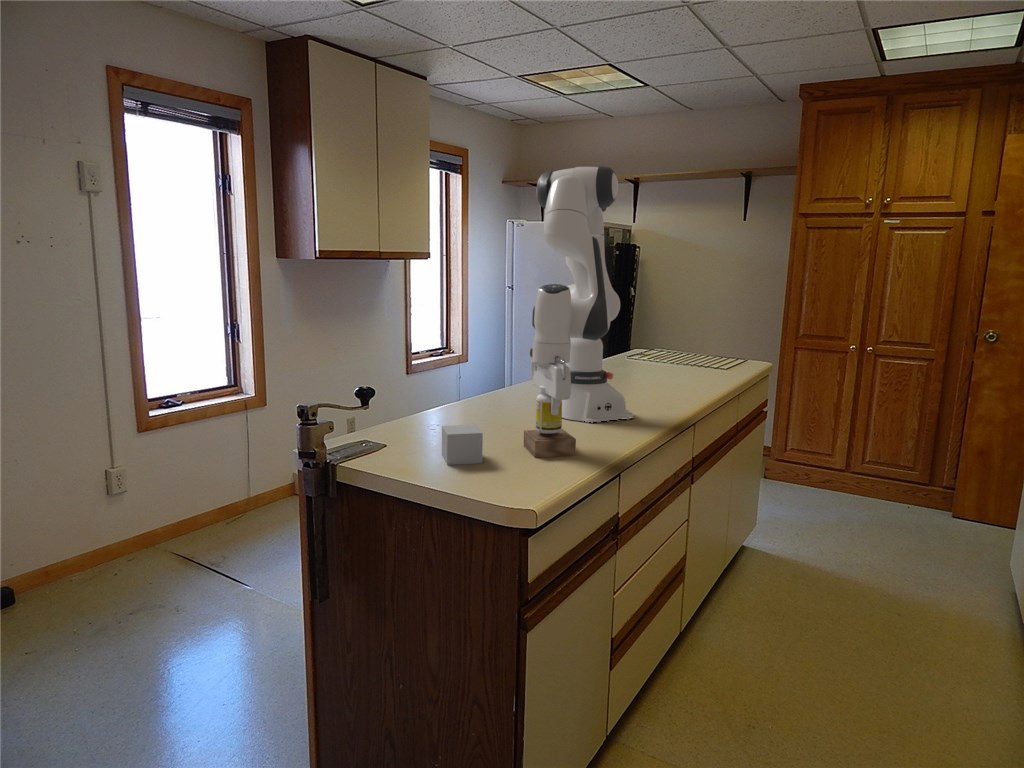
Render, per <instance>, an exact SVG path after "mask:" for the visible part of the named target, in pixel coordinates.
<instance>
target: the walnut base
mask: <svg viewBox="0 0 1024 768" xmlns="http://www.w3.org/2000/svg"><path fill="white" fill-rule="evenodd" d="M576 443H577V439H576V438H575V437H574V436H573V435H571V434H570V433H568V432H567V431H566V430H565V429H564V428H561V431H560V432H558V433H552V434H546V433H540V432H538V431H537V430H536V429H529V430H528V429H526V430H525V429H524V430H523V448H525V449H526V450H527V451H528V453H530V455H532V457H534V458H551V457H570V456H572V455H573V456H576V449H577V448H576V446H577V444H576Z"/></svg>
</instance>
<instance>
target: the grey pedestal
mask: <svg viewBox="0 0 1024 768" xmlns="http://www.w3.org/2000/svg"><path fill="white" fill-rule="evenodd" d="M483 435H484V433H483V431H482V430H481V429H480V428H479V427H478V426H477V424H462V425H461V424H460V425H459V424H458V425H442V426H441V456H442V458H443V460H444V462H445V464H446V466H451V465H456V466H457V465H470V464H471V465H473V464H483V443H484V442H483V437H484V436H483Z"/></svg>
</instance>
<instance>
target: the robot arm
mask: <svg viewBox="0 0 1024 768" xmlns="http://www.w3.org/2000/svg"><path fill="white" fill-rule="evenodd" d="M618 193H619V181H618V177H617V175H616V171H615V170H614V169H613V168H612V167H611V166H610V167H609V166H604V165H599V166H575V167H573V168H565V169H559V170H555V171H554V170H549V171H546V172H544V173H542V174H541V175H540V176H539V177H538V179H537V184H536V197H537V201H538V203H539V205H540V206H541V207H542V208H543V209H544V216H543V217H544V218H543V236H544V239H545V241H546V243H547V245H548V246H549V247H550V248H551V249H553V250H554V251H555V252H557V253H558V254H560V255H562V256H564V257H565V264H566V266H567V268H568V269H569V270H570V272H571V275H572V278H573V281H574V282H573V284H568V285H565V284H560V283H558V284H557V283H548V284H543V285H542V286H540V287H538V289H537V293H536V299H535V305H534V306H533V308H532V318H531V319H532V321H531V322H532V323H531V324H532V327H533V328H534V329H535V331H534V332H535V333H534V336H533V340H532V341H533V342H532V343H533V344H532V346H531V347H530V348H529V350H528V356H529V358H530V359H531V360H530V376H531V383H532V385H533V386H534V387H536V388H537V389H538V392H539V393H538V395H540V394H541V392H540V386H543V387H545V393H546V394H548V395H549V396H551V401H552V403H551V407H550V413H551V414H552V415H558V414H559V407H560V404H561V400H562V419H565V420H571V421H580V422H584V421H585V423H589V422H591V423H590V424H594V423H593V422H597V423H602V422H601V421H607V422H610V421H609V420H616V419H622V418H629V417H633V418H634V414H633V412H631V410H627V405H626V399H625V396H624V394H622V393H621V392H619V391H618V390H617V389H616V388H614V386H612V384H610V383H609V382H608V380H610V381H611V380H613V379H614V373H613V372H610V371H606V370H604V369H603V358H604V357H603V356H604V355H603V353H604V351H603V350H604V344H603V340H602V339H601V338H603V337H604V336H605V335H607V333H608V332H609V330H610V326H611V322H612V321H614V320H615V319H616V318H617V317H618V314H619V312H620V310H621V300H620V297H619V295H618V293H617V291H615V290H614V288H613V287H612V284H611V281H610V277H609V274H608V271H607V266H606V257H605V255H606V254H605V252H606V251H605V250H606V249H605V227H604V226H605V225H604V216H603V213H604V212H606V210H607V208H608V207H611V205H612V206H613V203H615V201H616V199H617V195H618Z"/></svg>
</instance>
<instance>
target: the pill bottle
mask: <svg viewBox="0 0 1024 768" xmlns="http://www.w3.org/2000/svg"><path fill="white" fill-rule="evenodd" d="M540 392H541V394H538V395H537V396H536V398H535V399H536V401H535V402H536V404H535V405H536V406H535V407H536V408H535V411H536V412H535V430H537V431H538V432H540V433H546V434H552V433H558V432H560V431H561V429H563V428H562V426H563V425H562V421H563V418H562V400H561V404H560V407H559V414H558V415H552V414H551V413H550V407H551V403H552V401H551V396H549V395H548V394H546V393H545V387H543V386H540Z"/></svg>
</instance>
